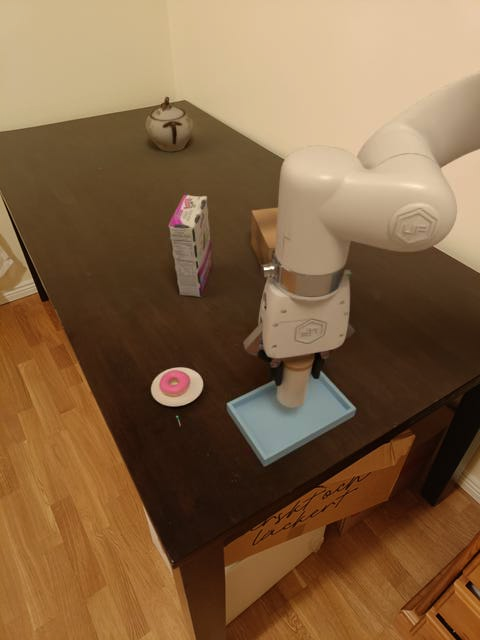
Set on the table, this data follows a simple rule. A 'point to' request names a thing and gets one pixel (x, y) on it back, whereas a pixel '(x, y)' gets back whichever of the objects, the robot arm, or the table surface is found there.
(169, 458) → the table surface
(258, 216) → the cabinet
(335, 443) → the table surface
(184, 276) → the candy bar box
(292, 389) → the spice pot
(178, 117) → the sugar bowl
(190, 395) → the donut
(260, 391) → the tray
